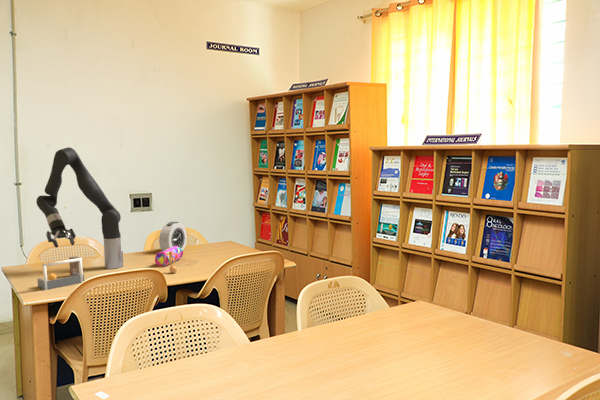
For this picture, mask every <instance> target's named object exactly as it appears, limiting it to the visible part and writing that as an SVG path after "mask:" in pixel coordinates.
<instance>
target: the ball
mask: <svg viewBox="0 0 600 400" xmlns="http://www.w3.org/2000/svg"><path fill="white" fill-rule="evenodd" d="M57 277H58V276H57V274H55V273H50V274H48V275H47V280H48V281H49V280H54V279H58V278H57Z"/></svg>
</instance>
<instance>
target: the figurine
mask: <svg viewBox="0 0 600 400" xmlns="http://www.w3.org/2000/svg"><path fill="white" fill-rule="evenodd" d="M173 254H175V253H173V252H172V251H170V252H169V253H168V254H166V255H165V261H166V256H167V255H169V256H170V258H169V260H170V264H169V265H170V267H169V272H170V273H172V274H175V273H177V271H178V268H177V266H176V265H175V262H176V261H175V260H174V257H172V256H173ZM175 255H176V254H175ZM176 256H177V255H176ZM177 257H178V256H177ZM178 258H179V257H178ZM172 260H173V261H174V262H172ZM171 262H172V263H171Z"/></svg>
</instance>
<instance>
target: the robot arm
mask: <svg viewBox="0 0 600 400" xmlns="http://www.w3.org/2000/svg"><path fill="white" fill-rule="evenodd" d="M68 165H69V166H70V167H71V169H72V170H73V172H74V174H75V177H76V182H77V185H78V188H79V190H80V191H81V192H82V194H83V195H84V196H85V198H87V200H89V201H90V202H91V203H92V204H93V205H94V206H96V208H97V209H98V210H99V211H100V214H102V215H101V221H100V223H101V232H102V237H103V256H104V269H108V270H109V269H111V270H113V269H119V268H120V269H121V268H123V267H124V251H123V249H122V240H121V239H122V237H121V232H120V225H119V223H120V221H121V220H122V219H121V213H120V211H119V210H117V209H116V208H115V206H114V205H113V204H112V203H111V202H110V200H109V199H108V198H107V196H106V195H105V193H104V191H103V190H102V188H101V187H100V186H99V184H98V183H97V181H96V180H95V179H94V177H93V175H91V173H90V171H89V170H88V169H87V167H86V166H85V164H84V163H83V161H82V159H81V158H80V155H79V154H78V153H77V151H76V150H75V149H74V148H72V147H69V146H68V147H64V148H62V149H58V150H57V151H56V152H55V154H54V157H53V161H52V167H51V170H50V174H49V177H48V180H47V183H46V186H44V187H45V188H44V193H45V194H46V195H38V197H37V198H36V205H37V207H38V208H39V210H40V211H41V212H42V213H43V214H44V216H45V219H46V221H47V225H48V227H49V229H50V230H47V231H46V233H45V235H46V239H47V242H48V243H52V244H53V246H54V247H55V248H58V247H59V244H58V241H57V239H64V238H65V239H66V240H69V242H70V244H71V246H74V245H75V243H76V241H75V239H76V237H77V235H76V234H75V231H74V230H73V229H74V228H70V229H67V228H66V225H65V223H64V221H63V218H62V216H61V215H60V213H59V210H58V208H57V207H56V206H57V204H58V194H59V191H60V189H61V186H62V182H63V181H62V179H63V178H62V175H63V171H64V170H65V168H66V167H67V166H68ZM52 236H53V238H52Z"/></svg>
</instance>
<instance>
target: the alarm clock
mask: <svg viewBox="0 0 600 400" xmlns="http://www.w3.org/2000/svg"><path fill="white" fill-rule="evenodd" d="M187 241H188V235H187V229H186V227H185V226H184V225H183V224H182V223H179V222H178V221H170V222H168V223H165V224H164V225H163V226H162V228H161V230H160V233H159V239H158V242H159V247H160V250H161V252H163V251H164V250H166V249H168V248H171V247H173V246H178V247H180V248H181V249H182V250H183V251H184V250H185V248H186V246H187Z"/></svg>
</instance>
